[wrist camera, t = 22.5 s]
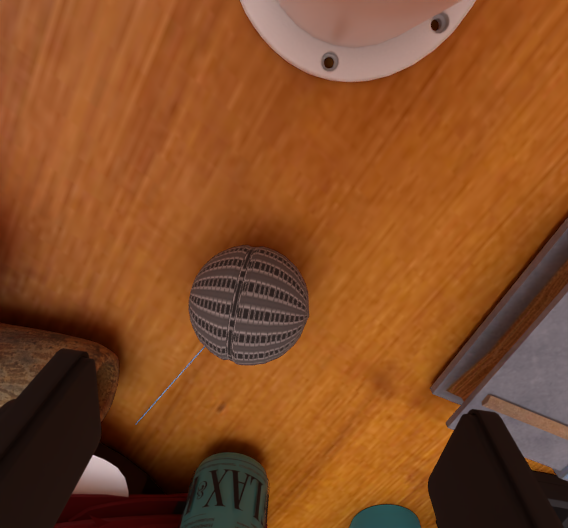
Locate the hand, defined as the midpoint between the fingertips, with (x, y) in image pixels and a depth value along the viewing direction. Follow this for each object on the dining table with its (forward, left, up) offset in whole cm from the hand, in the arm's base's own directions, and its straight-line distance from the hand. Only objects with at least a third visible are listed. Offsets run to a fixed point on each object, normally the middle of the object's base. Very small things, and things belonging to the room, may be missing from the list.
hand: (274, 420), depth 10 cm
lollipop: (+10, -5, -16) cm, 19 cm away
